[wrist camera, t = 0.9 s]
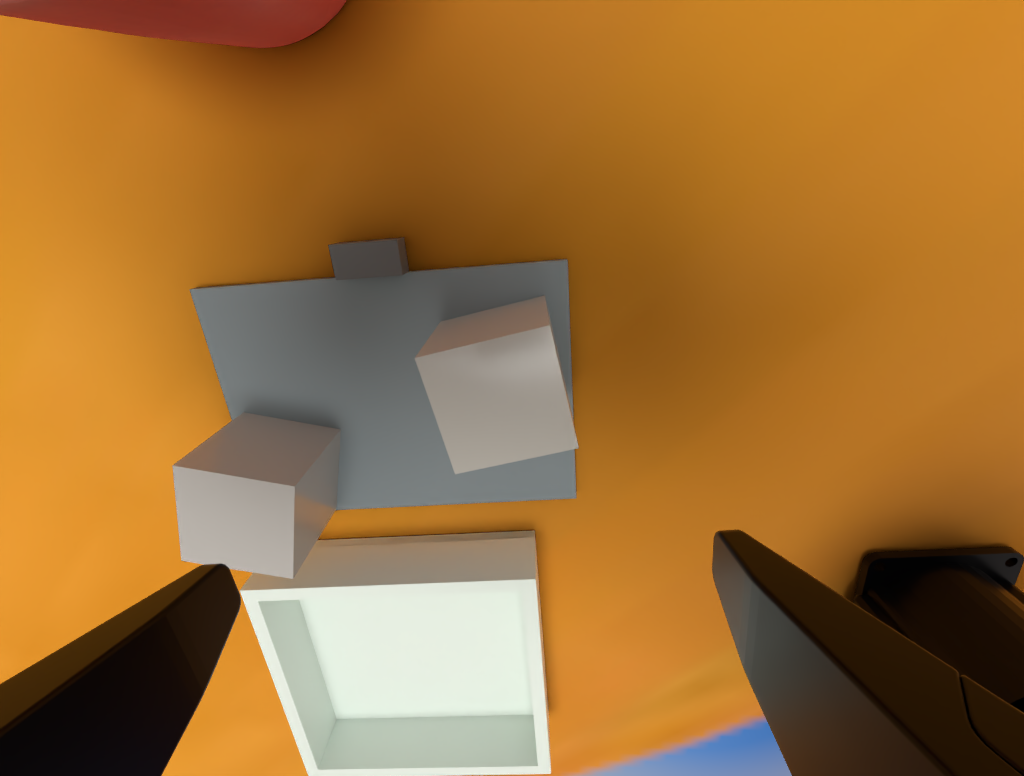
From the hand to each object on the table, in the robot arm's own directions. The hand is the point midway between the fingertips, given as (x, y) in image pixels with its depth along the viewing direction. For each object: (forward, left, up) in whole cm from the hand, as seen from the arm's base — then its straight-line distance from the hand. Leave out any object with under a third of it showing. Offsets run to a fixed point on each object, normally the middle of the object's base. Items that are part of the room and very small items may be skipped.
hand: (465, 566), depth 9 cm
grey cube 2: (+9, +3, -11) cm, 14 cm away
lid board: (+4, +1, -11) cm, 12 cm away
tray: (+5, +14, -11) cm, 19 cm away
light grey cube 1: (0, -1, -11) cm, 11 cm away
